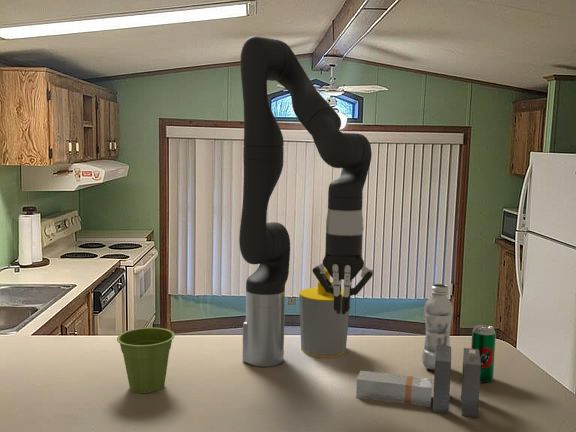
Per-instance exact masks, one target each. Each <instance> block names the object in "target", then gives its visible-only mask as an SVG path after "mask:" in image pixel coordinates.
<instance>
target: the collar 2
mask: <svg viewBox="0 0 576 432" xmlns="http://www.w3.org/2000/svg"><path fill="white" fill-rule="evenodd" d="M480 371H481V362H480V354H479V349H471V347H469V348H467V347H463V355H462V371H461V372H462V373H461V391H460V392H461V393H460V399H461V400H462V401H461V416H462V417H463V416H464V417H471V418H479V402H480V401H479V400H480V383H481V382H480Z"/></svg>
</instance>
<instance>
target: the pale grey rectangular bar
mask: <svg viewBox="0 0 576 432" xmlns="http://www.w3.org/2000/svg"><path fill="white" fill-rule="evenodd" d="M432 389H433V378H428V377H421V376H420V377H418V376H410V375H401V374H393V373H385V372H375V371H369V370H368V371H367V370H360V371H359V373H358V375H357V378H356V394H355V396H356V397H355V398H358V399H364V400H365V399H366V400H371V401H372V400H375V401H382V402H390V403H398V404H404V405H412V406H419V407H428V408H431V404H432V394H433V391H432Z"/></svg>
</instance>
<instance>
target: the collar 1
mask: <svg viewBox="0 0 576 432" xmlns="http://www.w3.org/2000/svg"><path fill="white" fill-rule="evenodd" d="M451 368H452V346H451V345H450V346H440V345H436V357H435V370H434V374H433V377H434V378H433V398H432V412H433V413H440V414H449V410H450V409H449V406H450V394H451V393H450V389H451V386H450V385H451V372H452V371H451V370H452V369H451Z"/></svg>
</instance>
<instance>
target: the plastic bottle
mask: <svg viewBox="0 0 576 432" xmlns="http://www.w3.org/2000/svg"><path fill="white" fill-rule="evenodd" d="M430 294H431V296H430V297H429V298H427V300H426V302H425V304H424V306H423V311H424V321H425V337H424V338H425V339H424V347H423V349H422V355H421V359H422V364H423V366H424V367H425V369H428V370H431V371H435V357H436V345H440V346H450V347H451V343H450V341H451V339H450V337H451V336H450V334H451V333H450V332H451V323H452V319H453V313H454V307H453V304H452V302H451V300H450V299H449V297H448V295H449V285H447V284H444V283H443V284H441V283H434V284H431V290H430Z"/></svg>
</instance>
